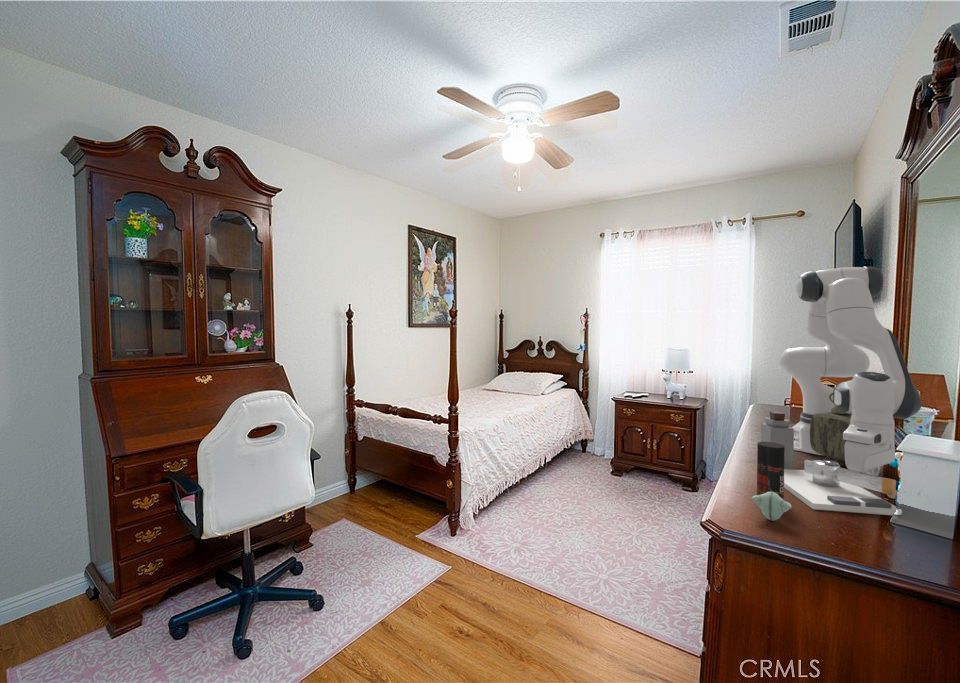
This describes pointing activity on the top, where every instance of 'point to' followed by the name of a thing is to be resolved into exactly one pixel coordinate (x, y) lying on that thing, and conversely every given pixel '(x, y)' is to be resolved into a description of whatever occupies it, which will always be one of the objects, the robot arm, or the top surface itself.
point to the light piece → (846, 476)
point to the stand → (834, 495)
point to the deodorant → (770, 468)
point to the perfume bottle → (779, 435)
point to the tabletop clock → (829, 433)
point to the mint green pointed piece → (771, 505)
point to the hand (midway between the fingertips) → (870, 482)
